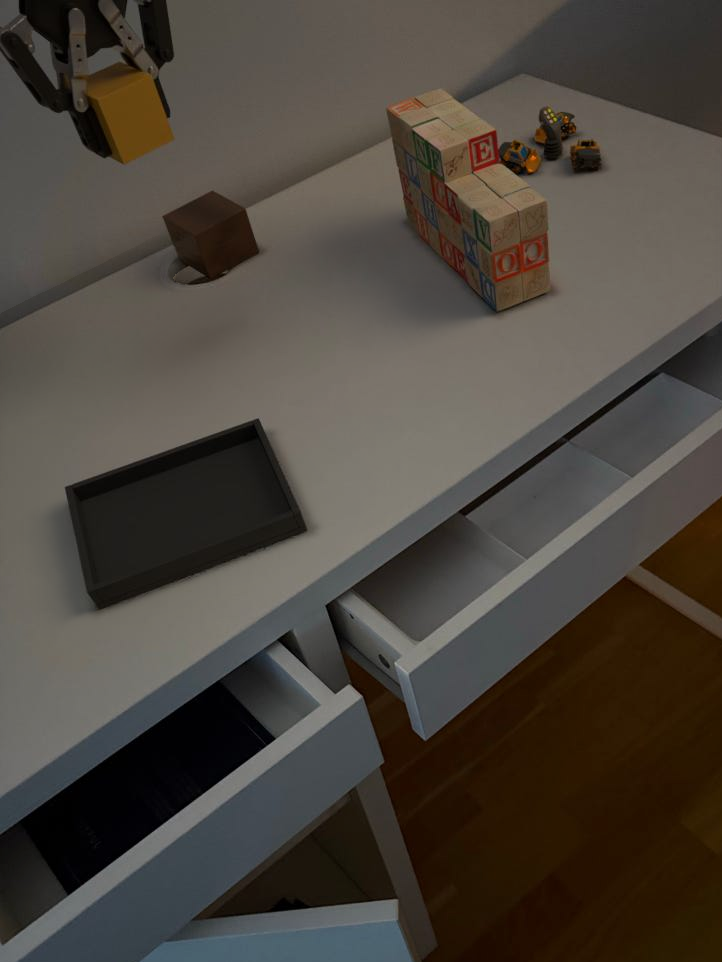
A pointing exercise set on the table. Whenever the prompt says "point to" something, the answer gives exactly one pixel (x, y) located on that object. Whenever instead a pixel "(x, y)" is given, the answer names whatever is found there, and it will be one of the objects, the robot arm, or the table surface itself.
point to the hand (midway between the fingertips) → (131, 139)
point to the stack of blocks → (470, 199)
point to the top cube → (128, 111)
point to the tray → (180, 512)
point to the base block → (211, 234)
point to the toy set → (550, 145)
